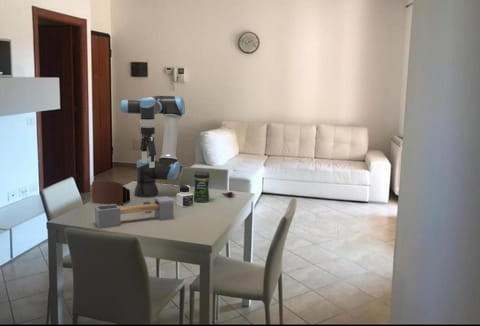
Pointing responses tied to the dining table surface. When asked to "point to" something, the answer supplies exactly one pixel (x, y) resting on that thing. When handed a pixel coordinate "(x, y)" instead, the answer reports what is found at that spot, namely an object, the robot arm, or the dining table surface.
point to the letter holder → (110, 193)
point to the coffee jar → (201, 186)
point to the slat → (139, 208)
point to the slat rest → (146, 204)
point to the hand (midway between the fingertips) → (148, 165)
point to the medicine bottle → (184, 197)
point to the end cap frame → (111, 213)
